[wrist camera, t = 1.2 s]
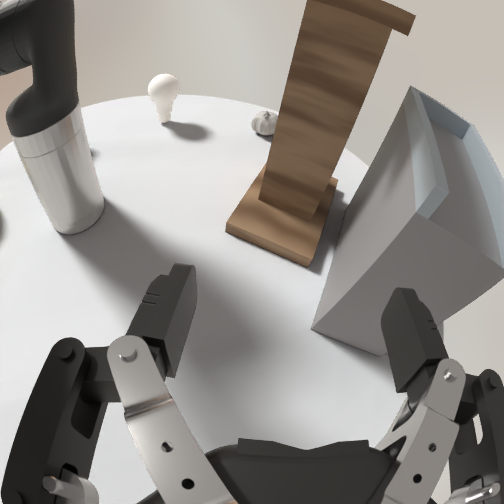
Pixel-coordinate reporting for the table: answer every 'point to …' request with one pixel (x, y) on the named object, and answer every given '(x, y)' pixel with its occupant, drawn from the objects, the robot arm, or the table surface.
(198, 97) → the table surface
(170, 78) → the lightbulb
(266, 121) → the garlic
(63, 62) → the robot arm
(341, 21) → the post
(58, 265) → the table surface
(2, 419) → the table surface
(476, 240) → the tray stand
